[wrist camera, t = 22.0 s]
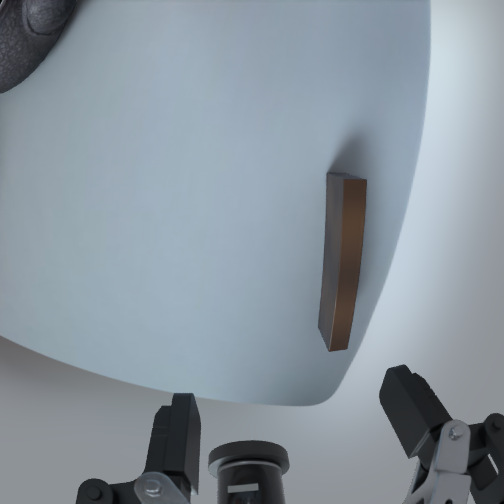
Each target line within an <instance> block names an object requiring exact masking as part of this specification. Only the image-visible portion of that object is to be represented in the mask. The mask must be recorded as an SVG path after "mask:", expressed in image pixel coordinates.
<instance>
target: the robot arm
mask: <svg viewBox="0 0 504 504" xmlns="http://www.w3.org/2000/svg"><path fill="white" fill-rule="evenodd" d="M379 398H380V403H381V405H382V407H383V409H384V411H385V413H386V415H387V417H388V419H389V421H390V422H391V425H392V427H393V428H394V430H395V432H396V434H397V436H398V438H399V440H400V442H401V444H402V446H403V448H404V450H405V453H406V455H407V456H408V458H409V459H410V458H412V457H415V456H418V457H419V461H418V462H417V466H416V469H415V472H414V476H413V479H412V482H411V485H410V489H409V492H408V494H407V497H406V499H405V500H404V502H403V503H402V504H467V500H468V495H469V490H470V492H471V494H472V496H473V498H474V501H475V503H476V504H504V416H503V415H501V414H499V413H493V414H490V415H489V416H488V417H487V418H486V420H485V421H484V422H483V423H478V424H473V425H467V424H466V423H464V422H463V421H460V420H453V419H452V418H451V417H450V415H449V413H448V412H447V410H446V409H445V408H444V406H443V405H442V403H441V402H440V400H439V399H438V397H437V396H436V395H435V393H434V392H433V390H432V389H430V386H429V385H428V383H427V382H426V380H425V379H424V378H422V377H420V376H419V375H418V374H417V373H413V374H412V373H411V371H410V370H409V368H408V367H407V366H406V365H399V366H396V367H392V368H389V369H388V370H387V371H386V374H385V377H384V380H383V384H382V386H381V389H380V393H379ZM200 435H201V422H200V415H199V412H198V408H197V405H196V401H195V397H194V394H193V393H174V395H173V399H172V405H171V406H161V408H160V409H159V411H158V412H157V413H156V415H155V419H154V423H153V428H152V433H151V438H150V444H149V449H148V455H147V460H146V466H145V470H144V472H143V473H142V475H141V476H139V477H138V478H137V479H135V480H134V481H131V482H126V483H118V484H110V485H108V484H107V483H106V482H105V481H103V480H100V479H88V480H86V481H84V482H83V483H82V484H81V485H80V487H79V489H78V495H77V500H76V504H191V503H190V496H191V495H198V483H199V456H200ZM489 453H490V455H491V457H492V459H493V461H494V462H495V464H496V466H497V468H498V475H497V473H496V471H495V469H494V467H493V465H492V463H491V461H490V459H489V457H488V454H489ZM281 474H282V471H281V466H280V465H279V464H278V463H277V462H275V461H272V460H268V459H262V458H243V459H236V460H231V461H228V462H225V463H223V464H221V465H220V466H219V467H218V468H217V478H218V491H217V496H218V497H217V503H218V504H285V497H284V490H283V483H282V476H281Z"/></svg>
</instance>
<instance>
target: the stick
mask: <svg viewBox="0 0 504 504" xmlns="http://www.w3.org/2000/svg"><path fill="white" fill-rule="evenodd" d="M366 187H367V180H366V179H363V178H360V177H356V176H353V175H350V174H346V173H327V184H326V222H325V244H324V262H323V277H322V290H321V301H320V312H319V322H318V328H319V330H320V333H321V335H322V337H323V340H324V342H325V344H326V347H327V349H328V351H329V352H331V351H338V350H345V349H347V348H348V343H349V338H350V332H351V326H352V321H353V315H354V308H355V302H356V295H357V288H358V281H359V273H360V264H361V255H362V245H363V234H364V222H365V207H366Z"/></svg>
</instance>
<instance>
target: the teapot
mask: <svg viewBox="0 0 504 504" xmlns="http://www.w3.org/2000/svg"><path fill="white" fill-rule="evenodd" d="M75 4H76V0H0V93H4V92H6V91H8V90H10V89H12V88H13V87H15V86H17V85H18V84H20V83H21V82H22V81H24V80H25V79H26V78H27V77H28V76H29V75H30V74H31V73H32V72H33V71H34V70H35V69H36V68H37V67H38V66H39V64H40V63H41V62H42V61H43V60H44V58H45V57H46V55H47V54H48V52H49V51H50V49H51V48H52V46H53V45H54V43H55V42H56V41H57V39H58V36H59V34H60V32H61V30H62V28H63V26H64V24H65V22H66V20H67V18H68V16H69V15H70V14H71V12H72V11H73V9H74V6H75Z"/></svg>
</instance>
